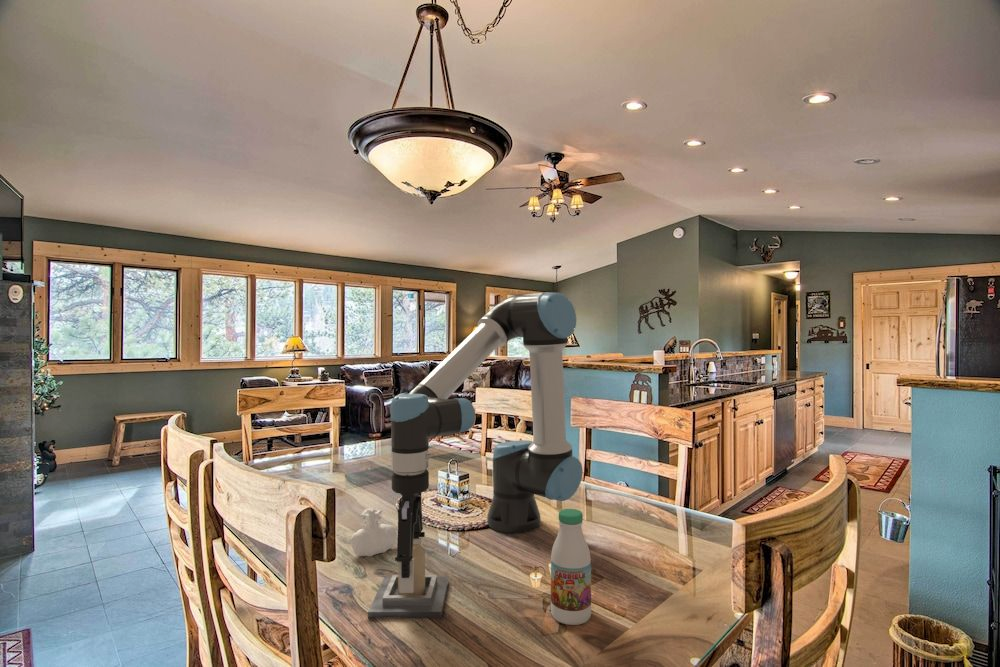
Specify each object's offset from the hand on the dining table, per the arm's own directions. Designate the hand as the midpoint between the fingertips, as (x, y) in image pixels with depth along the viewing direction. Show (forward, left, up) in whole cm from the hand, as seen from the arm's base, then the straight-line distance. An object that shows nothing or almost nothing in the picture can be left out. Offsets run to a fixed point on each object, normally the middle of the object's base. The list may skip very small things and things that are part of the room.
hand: (410, 579), depth 106 cm
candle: (0, 0, -3) cm, 3 cm away
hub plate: (0, 0, -4) cm, 4 cm away
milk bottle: (-32, +6, -4) cm, 33 cm away
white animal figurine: (+14, -23, -4) cm, 27 cm away
